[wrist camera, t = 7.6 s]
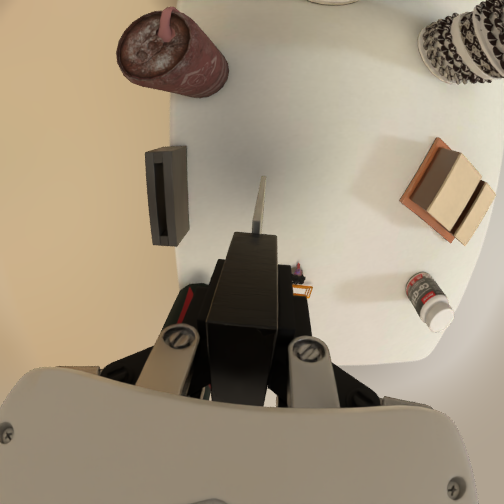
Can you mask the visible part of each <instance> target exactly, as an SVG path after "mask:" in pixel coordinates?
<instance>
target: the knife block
mask: <svg viewBox="0 0 504 504" xmlns="http://www.w3.org/2000/svg"><path fill="white" fill-rule="evenodd" d="M145 165H146V181H147V194H148V206H149V216H150V225H151V234H152V242H153V245H161V246H175V247H177V246H178V245H179V243H180V242H181V240H182V239H183V238H184V236H185V235H186V233H187V232H188V231H189V214H188V191H187V148H186V146H171V147H161V148H158V149H154V150H151V151H148V152H145Z"/></svg>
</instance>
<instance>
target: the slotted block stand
mask: <svg viewBox="0 0 504 504" xmlns="http://www.w3.org/2000/svg"><path fill="white" fill-rule="evenodd" d="M481 178H482V176H481V175H480V173H479V172H478V171H477V170H476V169H475V167H474V166H473V165H472V164H471V163H470V162H469V161H468V159H467V158H466V157H465V156H464V155H463V154H462V153H459V152H456V151H452V150H451V149H450V148H449V147H448V146H447V145H446V144H445V143H444V142H443V141H442V140H441V139H440V138H436V139H435V141H434V143H433V145H432V147H431V149H430V150H429V152H428V154H427V156H426V158H425V159H424V161H423V163H422V165H421V166H420V168H419V170H418V171H417V173H416V175H415V176H414V178H413V180H412V181H411V183H410V185H409V186H408V188H407V190H406V191H405V193H404V194H403V196H402V198H401V199H400V202H401V203H402V204H404V205H405V206H406V207H408V208H409V209H410V210H411V211H413V212H414V213H415V214H416V215H418V216H419V217H420V218H421V219H423V220H424V221H425V222H426V223H428V224H429V225H430V226H431V227H432V228H433V229H435V230H436V231H437V232H438V233H439V234H440V235H442V236H443V237H444V238H445V239H446V240H447V241H448V242H450V243H452V241H453V240H454V238H455V237H454V236H453V235H451V234H450V233H449V232H448V231H450V230H451V229H452V227H453V226H454V224H455V223H456V221H457V219H458V218H459V216H460V215H461V213H462V211H463V210H464V208H465V206H466V205H467V203H468V201H469V199H470V198H471V196H472V194H473V192H474V191H475V189H476V187H477V185H478V183H479V181H480V180H481ZM436 221H437V222H436ZM439 223H440V224H441V225H442V226H444V227H445V228H446V229H447V230H448V231H446V230H445V229H444V228H443V227H442V226H441V225H440V224H439Z"/></svg>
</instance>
